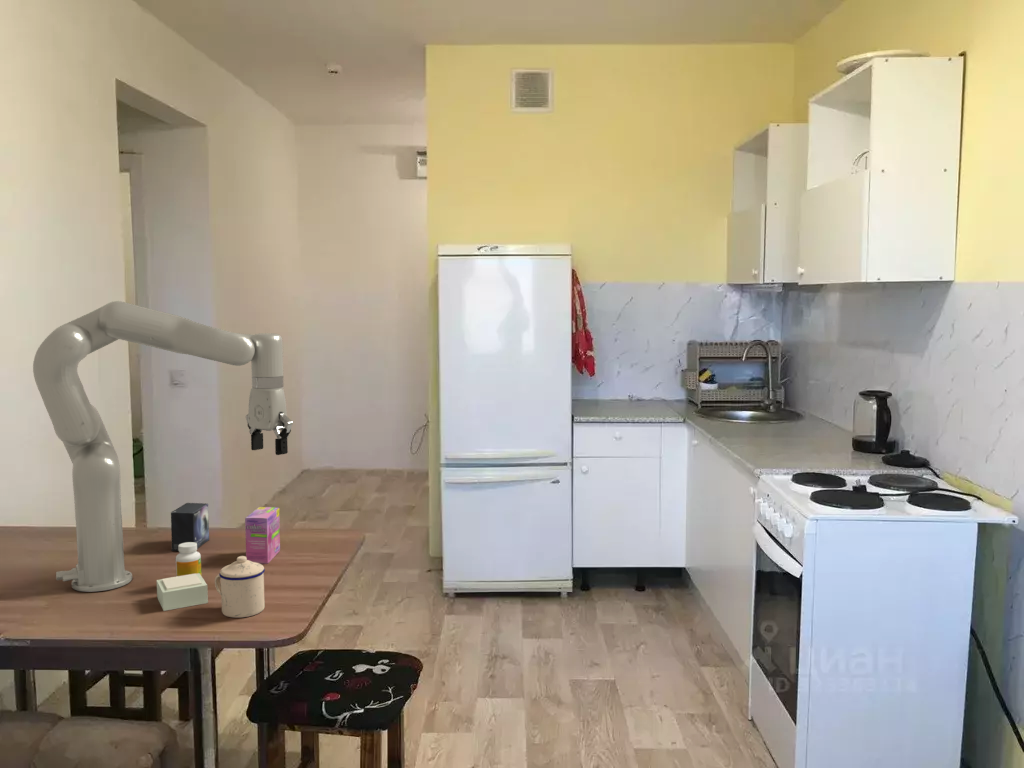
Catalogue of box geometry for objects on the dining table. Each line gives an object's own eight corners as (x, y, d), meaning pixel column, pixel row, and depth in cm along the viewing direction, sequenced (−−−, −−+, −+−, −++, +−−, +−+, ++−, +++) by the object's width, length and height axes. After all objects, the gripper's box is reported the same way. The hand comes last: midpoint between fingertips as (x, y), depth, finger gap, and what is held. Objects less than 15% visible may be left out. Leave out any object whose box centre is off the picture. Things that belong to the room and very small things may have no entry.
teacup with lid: (275, 606, 178) (273, 553, 176) (244, 621, 170) (242, 566, 168) (232, 598, 183) (230, 546, 182) (200, 612, 175) (198, 558, 173)
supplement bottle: (204, 587, 190) (202, 545, 189) (178, 591, 187) (177, 549, 186) (199, 580, 194) (197, 539, 193) (175, 584, 192) (173, 543, 190)
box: (268, 564, 206) (267, 517, 205) (245, 564, 206) (244, 517, 205) (281, 551, 216) (279, 507, 215) (259, 551, 216) (257, 506, 215)
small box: (195, 551, 216) (194, 512, 214) (170, 551, 216) (169, 512, 215) (210, 539, 226) (209, 502, 225) (187, 539, 226) (185, 502, 225)
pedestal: (163, 610, 175) (162, 590, 175) (157, 597, 183) (156, 578, 182) (208, 602, 180) (207, 583, 179) (200, 590, 187) (199, 571, 187)
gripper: (233, 382, 207) (235, 449, 209) (276, 387, 196) (278, 458, 198) (259, 380, 213) (260, 445, 215) (302, 384, 202) (303, 453, 204)
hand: (269, 451), depth 206 cm, fingers open, 9 cm apart
